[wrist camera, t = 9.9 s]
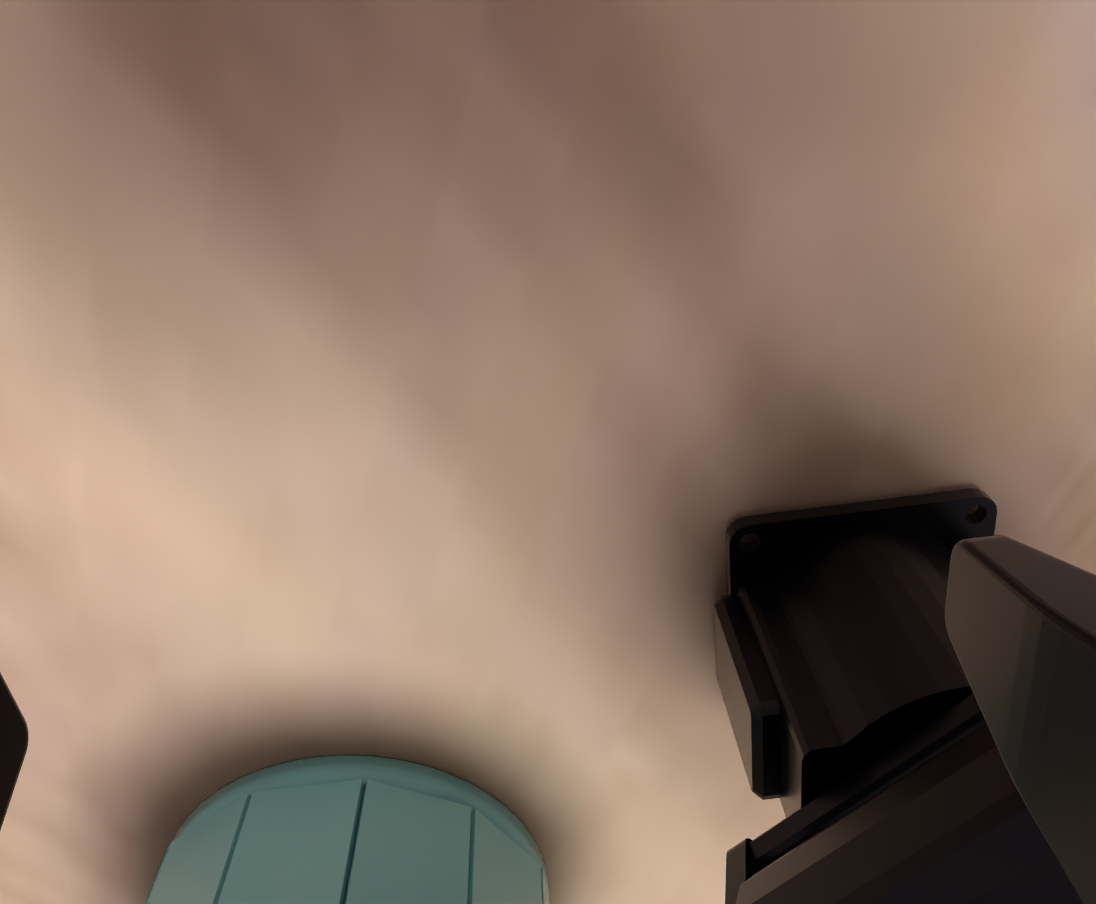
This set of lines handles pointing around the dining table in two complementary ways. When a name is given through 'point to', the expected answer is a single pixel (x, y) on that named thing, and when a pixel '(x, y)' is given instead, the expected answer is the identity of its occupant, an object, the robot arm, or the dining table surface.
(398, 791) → the bowl
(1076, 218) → the dining table surface
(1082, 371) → the dining table surface
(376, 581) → the dining table surface
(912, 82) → the dining table surface
